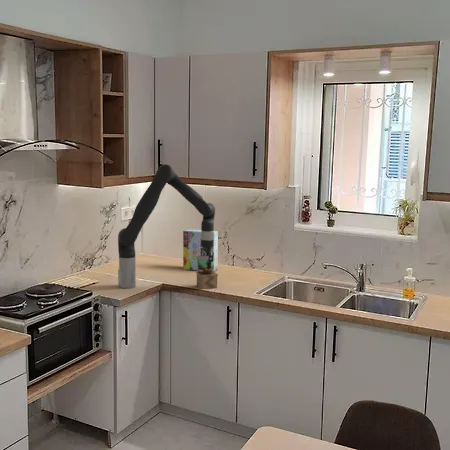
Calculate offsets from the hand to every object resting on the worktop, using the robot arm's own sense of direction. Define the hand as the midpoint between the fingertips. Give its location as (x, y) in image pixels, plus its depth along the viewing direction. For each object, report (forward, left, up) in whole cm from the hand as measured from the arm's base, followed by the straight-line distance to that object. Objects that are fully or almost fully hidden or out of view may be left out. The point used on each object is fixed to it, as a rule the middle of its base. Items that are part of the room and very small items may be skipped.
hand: (206, 267), depth 324 cm
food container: (0, -1, -3) cm, 3 cm away
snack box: (+13, +42, -12) cm, 46 cm away
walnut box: (0, 0, -11) cm, 11 cm away
